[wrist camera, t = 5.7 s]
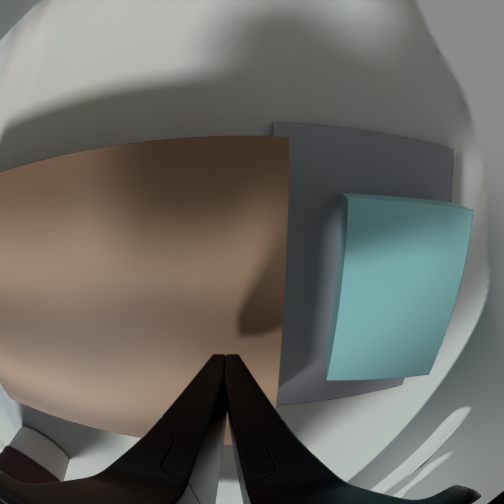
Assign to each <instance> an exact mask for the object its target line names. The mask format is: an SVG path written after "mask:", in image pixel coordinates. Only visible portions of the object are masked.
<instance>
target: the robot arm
mask: <svg viewBox="0 0 504 504" xmlns="http://www.w3.org/2000/svg"><path fill="white" fill-rule="evenodd" d="M227 413H228V421H229V428H230V434H231V440H232V445H233V451H234V457H235V462H236V468H237V473H238V478H239V483H240V488H241V493H242V498H243V503H244V504H472V503H473V502H475V501H476V500H478V499H479V498H480V497H481V495H480V494H479V493H478V492H477V491H475V490H473V489H470V488H467V487H463V486H459V485H454V486H452V487H450V488H447V489H446V490H444V491H442V492H440V493H438V494H436V495H434V496H432V497H429V498H426V499H420V500H409V499H402V498H398V497H393V496H389V495H385V494H381V493H377V492H373V491H370V490H366V489H363V488H359V487H356V486H353V485H351V484H349V483H347V482H345V481H343V480H342V479H340V478H339V477H338V476H337V475H335V474H334V473H333V472H332V471H331V470H330V469H329V468H327V467H326V466H325V465H324V464H323V463H322V462H321V461H320V460H319V459H318V458H317V457H315V456H314V455H313V454H312V453H311V452H310V451H309V450H308V449H307V448H306V447H305V446H304V445H303V444H302V443H301V442H300V441H299V439H298V438H297V437H296V436H295V435H294V433H293V432H292V431H291V430H290V428H289V427H288V426H287V424H286V423H285V422H284V420H283V419H282V418H281V416H280V415H279V413H278V412H277V411H276V409H275V408H274V406H273V405H272V404H271V402H270V401H269V399H268V398H267V396H266V395H265V393H264V392H263V390H262V389H261V387H260V386H259V384H258V383H257V382H256V380H255V379H254V377H253V375H252V374H251V372H250V371H249V369H248V368H247V366H246V365H245V363H244V362H243V360H242V359H241V357H240V356H239V354H227V355H225V354H213V355H212V356H211V357H210V358H209V360H208V361H207V362H206V363H205V365H204V366H203V367H202V368H201V370H200V371H199V372H198V373H197V375H196V376H195V377H194V378H193V379H192V381H191V382H190V383H189V384H188V386H187V387H186V388H185V389H184V390H183V392H182V393H181V394H180V395H179V397H178V398H177V399H176V400H175V401H174V403H173V404H172V405H171V406H170V407H169V409H168V410H167V411H166V412H165V413H164V414H163V416H162V418H160V419H159V420H158V421H157V423H156V424H155V425H154V426H153V427H152V428H151V429H150V430H149V431H148V432H147V434H146V435H145V436H144V437H143V438H141V439H140V440H139V441H138V442H137V443H136V444H135V445H134V446H133V447H132V448H130V449H129V450H128V451H127V452H126V453H125V454H123V455H122V456H121V457H120V458H119V459H117V460H116V461H115V462H114V463H113V464H111V465H110V466H109V467H108V468H106V469H105V470H104V471H102V472H100V473H98V474H96V475H94V476H91V477H87V478H82V479H76V480H69V481H62V482H53V483H43V484H28V483H22V482H19V481H16V480H14V479H12V478H11V477H9V476H7V475H6V474H4V473H3V472H1V471H0V499H1V500H3V501H4V502H5V503H7V504H215V502H216V495H217V488H218V480H219V473H220V466H221V459H222V451H223V444H224V437H225V430H226V422H227ZM487 504H504V491H503V492H502V493H500V494H499V495H498V496H497V497H495V498H494V499H493V500H491V501H490V502H489V503H487Z"/></svg>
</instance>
